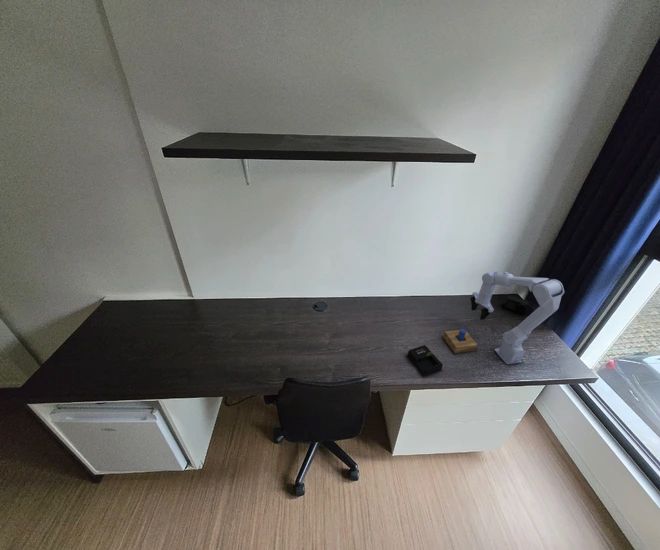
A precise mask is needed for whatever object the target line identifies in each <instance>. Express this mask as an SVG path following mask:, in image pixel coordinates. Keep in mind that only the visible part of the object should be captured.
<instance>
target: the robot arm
mask: <svg viewBox="0 0 660 550" xmlns="http://www.w3.org/2000/svg"><path fill="white" fill-rule="evenodd" d="M481 281H482V284H481V286H480V289H479V292H477V291H473V292H472V293H471V297H470V299H469V300H470V304H471V308H470V309H471V311H477V309H478V306H479V305H481V306H482V307H483V308H481V309H480V311H481V313H480V317H479V319H480V320H481V321H485V319H486V318H487V317H488V316H489V315H491V314H492V313H493V312H494V311H495V309H494V307H493V305H492V303H491V300H492V296H493V293H494V291H495V289H496V286H503V287H511V286H513V285H516V286H521V287H528V289H529V292H531V293H532V294H533V296H534V298H535V299H536V302H537V303H538V305H539V306H538V307H537V308H536V309H535V310H534V311H532V312H531V313H530V315H528V316H527V317H525V318H524V319H523V320H522V321H521V322H520V323H518V325H516V326H515V327H513V328H512V329H510V330H508V331H505V332H503V334H502V339H503V340H502V342H501V345H500V347H497V348H494V349H493V350H494V351H495V353H496V354H497V355H498V356H499V357H500V358H501V360H502V361H503V362H504V363H505V364H506V365H513V364H519V363H522V362H523V361H522V360H523V358H524V356H525V354H526V351H525V350H524V349H523V346H522V345H523V342H524V341H527V340H528V339H529V337H530V334H531V333H532V331H533V330H534V329H536V328H537V327H539V325H541V324H542V323H543V322H544V321H546V320H547V319H548V318H549V317H550V316H552V315H553V314H554V313H556V311H558V310H559V307H560V303H561V299H562V296H563V295H564V294H565V289H564V285H563V283H562V282H561V281H560V280H558V279H555V278H551V279H549V277H530V276H529V277H528V276H526V277H525V276H515V275H514V274H513V273H509V271H504V272H498V271H495V270H494V271H493V270H492V271H489V272H486V273H484V274H482V276H481Z"/></svg>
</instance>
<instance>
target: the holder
mask: <svg viewBox="0 0 660 550" xmlns="http://www.w3.org/2000/svg"><path fill="white" fill-rule="evenodd" d="M459 332H460V329H456V330H455V329H454V330H447V331H444V333H443V337H442V338H443V339H444V341H445V342H446V344H447V345H448V347H450V349H451V350H452V352H453V353H454V354H460V353H466V352H475V351H476V350H477V347H478V343H476V341H475V340H474V339H473V338H472V337H471V335H470V333H468V331H466V334H465V337H464V340H463V341H458V339H457V338H458V335H459Z"/></svg>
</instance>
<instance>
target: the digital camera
mask: <svg viewBox="0 0 660 550" xmlns="http://www.w3.org/2000/svg"><path fill="white" fill-rule="evenodd" d="M529 302H530V301H528V300H525V299H522V298H520V297H516V296H512V295H508V296H507V298H506V300H505V303H504V306H503V309H506V310H509V311H512V312H515V313H518V314H520V315H525V313H526V311H527V309H528V306H529Z"/></svg>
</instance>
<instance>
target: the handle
mask: <svg viewBox="0 0 660 550" xmlns="http://www.w3.org/2000/svg"><path fill="white" fill-rule="evenodd" d="M459 330H460V332H459V335H458V338H457V339H458V341H463V340H464V337H465V334H466V332H467V330H466V329H465V328H460V329H459Z"/></svg>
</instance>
